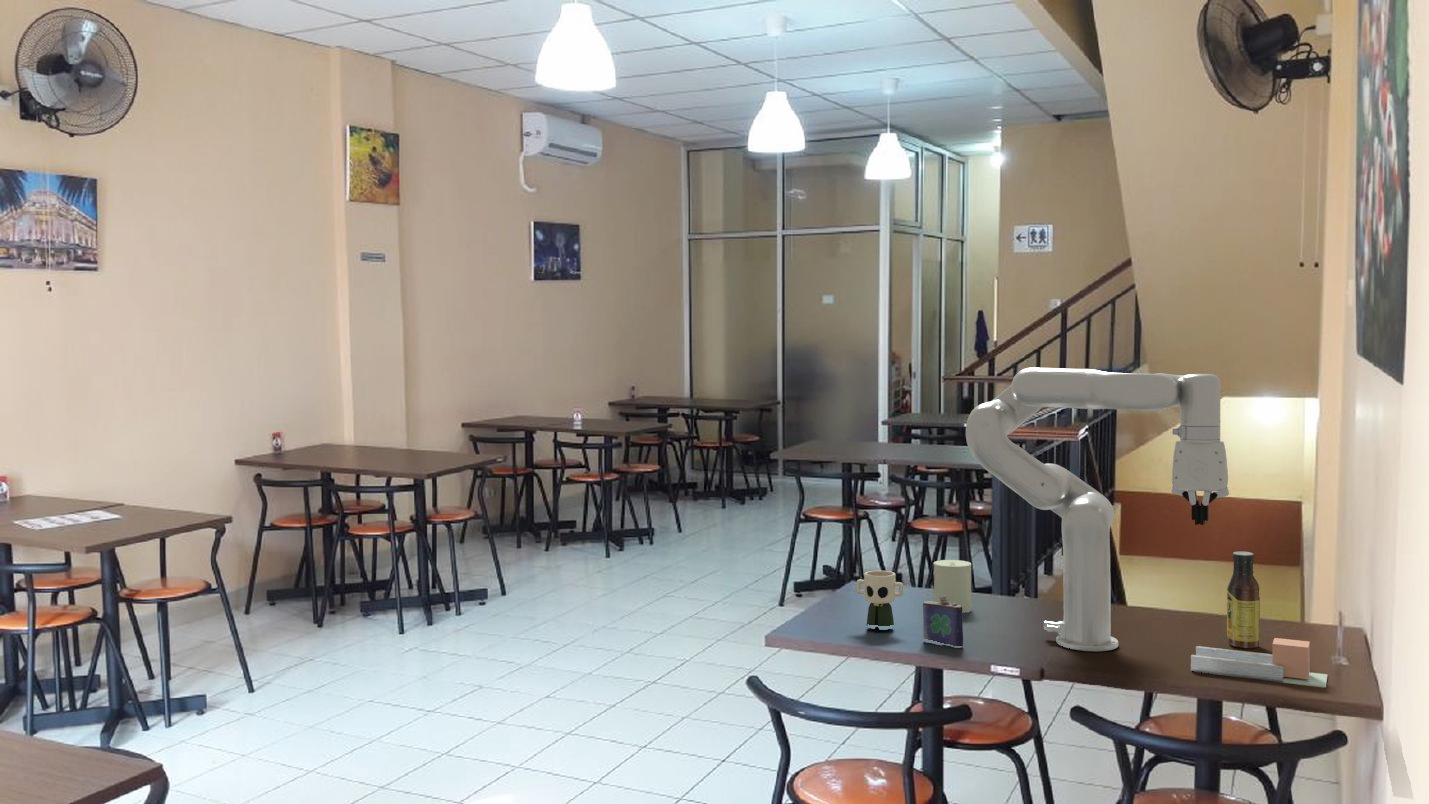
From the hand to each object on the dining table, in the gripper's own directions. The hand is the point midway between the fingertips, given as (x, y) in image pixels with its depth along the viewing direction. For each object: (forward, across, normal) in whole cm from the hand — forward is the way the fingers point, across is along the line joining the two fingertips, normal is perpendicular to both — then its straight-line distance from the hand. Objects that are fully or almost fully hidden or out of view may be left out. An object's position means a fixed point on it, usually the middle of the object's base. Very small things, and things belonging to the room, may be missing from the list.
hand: (1199, 523), depth 224 cm
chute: (+27, +8, -9) cm, 30 cm away
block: (+26, +17, -9) cm, 33 cm away
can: (+27, -58, +17) cm, 66 cm away
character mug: (+27, -66, -10) cm, 72 cm away
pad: (+27, +20, -9) cm, 35 cm away
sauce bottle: (+27, +7, +12) cm, 31 cm away
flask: (+27, -49, -16) cm, 58 cm away
